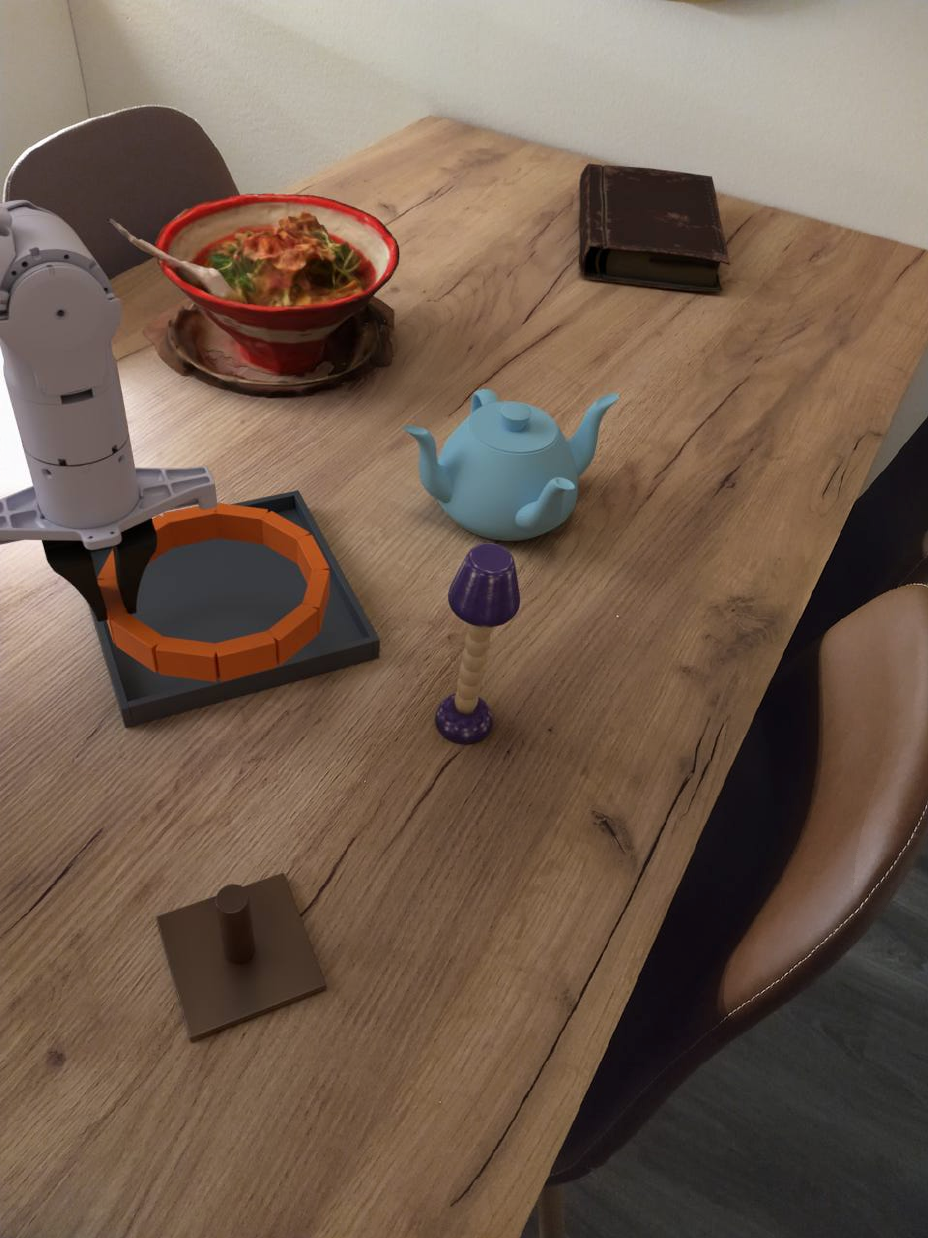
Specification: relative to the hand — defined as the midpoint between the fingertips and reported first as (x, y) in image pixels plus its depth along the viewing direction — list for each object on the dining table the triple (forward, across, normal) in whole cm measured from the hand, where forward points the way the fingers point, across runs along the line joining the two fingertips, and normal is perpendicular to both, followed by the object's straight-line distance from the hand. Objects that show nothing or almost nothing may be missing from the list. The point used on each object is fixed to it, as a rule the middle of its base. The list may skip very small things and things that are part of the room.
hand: (114, 607), depth 67 cm
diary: (+10, +78, +54) cm, 95 cm away
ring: (+2, +7, 0) cm, 7 cm away
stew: (+10, +23, +42) cm, 49 cm away
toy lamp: (+10, +22, -11) cm, 26 cm away
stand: (+9, +2, -22) cm, 24 cm away
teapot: (+10, +35, +10) cm, 38 cm away
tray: (+9, +8, +7) cm, 15 cm away
